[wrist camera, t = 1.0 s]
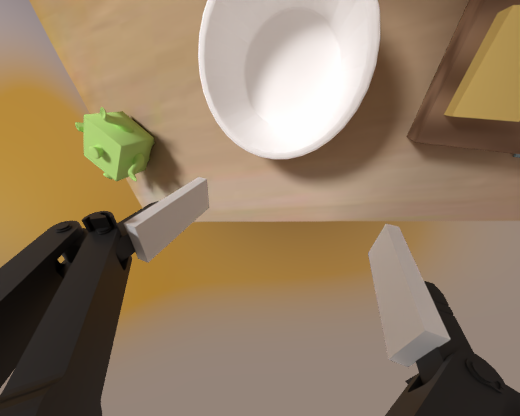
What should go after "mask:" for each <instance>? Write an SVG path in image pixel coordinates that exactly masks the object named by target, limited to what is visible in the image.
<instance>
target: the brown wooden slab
mask: <svg viewBox="0 0 520 416" xmlns="http://www.w3.org/2000/svg"><path fill="white" fill-rule="evenodd" d="M512 5H520V0H469V2H468V4H467V7H466V9H465V11H464V13H463V15H462V18H461V20H460V22H459V24H458V26H457V28H456V31H455V33H454V35H453V37H452V39H451V41H450V44H449V46H448V48H447V50H446V52H445V55H444V57H443V59H442V61H441V63H440V65H439V68H438V70H437V72H436V74H435V76H434V78H433V81H432V83H431V85H430V87H429V89H428V91H427V94H426V96H425V98H424V100H423V102H422V105H421V107H420V109H419V111H418V113H417V115H416V118H415V120H414V122H413V124H412V126H411V128H410V131H409V133H408V135H407V137H408V138H409V139H411V140H413V141H414V142H418V143H427V144H435V145H444V146H453V147H461V148H470V149H479V150H488V151H496V152H505V153H514V154H520V121H519V122H515V121H503V120H490V119H478V118H466V117H453V116H447V115H444V113H445V111H446V110H447V108H448V106H449V104H450V102H451V100H452V98H453V96H454V94H455V93H456V91H457V89H458V87H459V85H460V83H461V81H462V79H463V77H464V76H465V74H466V72H467V70H468V68H469V66H470V64H471V62H472V60H473V59H474V57H475V55H476V53H477V51H478V49H479V47H480V45H481V44H482V42H483V40H484V38H485V36H486V34H487V32H488V30H489V28H490V27H491V25H492V23H493V21H494V19H495V17H496V15H497V13H499V12H501V11H503V10H504V9H506V8H508V7H510V6H512Z"/></svg>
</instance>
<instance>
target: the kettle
mask: <svg viewBox="0 0 520 416" xmlns="http://www.w3.org/2000/svg"><path fill="white" fill-rule="evenodd" d="M75 124H76V128H77V129H78V130H79V131H82V132H84V156H85V157H87V158H88V159H89V160H90V161H92V162H93V163H94V164H95V165H97V166H98V167H99V168H100V169H102V170H103V171H104V172H105V173H104V174H103V175H105V177H107V178H109V179H114V180H115V181H119V180H121V179H124V178H126V177H129V176H130V178H131V179H133V180H134V181H137V179H136V177H135V174H136V173H139V172H141V171H144V170H146V166H147V162H148V161H149V160H150V157H149V155H150V152H151V148H152V145H154V137H152V136H151V135H150V134H149V133H148V132H146V131H145V130H144V129H143V128H142V127H140V126H139V125H138V124H137V123H136V122H134V121H133V120H132V119H131V118H130V117H129V116H127V115H126V114H125V113H124V112H110V113H106V111H105V109H104V108H103V107H101V108H100V113H98V114H85V115H84V123H78V122H76V123H75Z"/></svg>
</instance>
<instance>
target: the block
mask: <svg viewBox="0 0 520 416" xmlns="http://www.w3.org/2000/svg"><path fill="white" fill-rule="evenodd" d="M444 115H447V116H453V117H466V118H478V119H490V120H503V121H515V122H519V121H520V5H512V6H510V7H508V8H506V9H504V10H503V11H501V12H499V13H497V15H496V17H495V19H494V21H493V23H492V25H491V27H490V28H489V30H488V32H487V34H486V36H485V38H484V40H483V42H482V44H481V45H480V47H479V49H478V51H477V53H476V55H475V57H474V59H473V60H472V62H471V64H470V66H469V68H468V70H467V72H466V74H465V76H464V77H463V79H462V81H461V83H460V85H459V87H458V89H457V91H456V93H455V94H454V96H453V98H452V100H451V102H450V104H449V106H448V108H447V110H446V111H445V113H444Z"/></svg>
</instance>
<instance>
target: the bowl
mask: <svg viewBox="0 0 520 416" xmlns="http://www.w3.org/2000/svg"><path fill="white" fill-rule="evenodd" d="M380 38H381V37H380V8H379V3H378V0H208V1H207V3H206V6H205V9H204V12H203V17H202V23H201V28H200V33H199V49H198V59H199V71H200V78H201V83H202V87H203V92H204V95H205V98H206V101H207V103H208V106H209V109H210V111H211V112H212V114H213V116H214V118H215V120H216V122H217V123H218V125H219V126H220V127H221V129H222V130H223V131H224V132H225V134H226V135H227V136H228V137H229V138H230V139H231V140H232V141H233V142H235V143H236V144H237V145H238V146H240V147H241V148H243V149H244V150H246V151H248V152H250V153H252V154H255V155H257V156H259V157H264V158H269V159H291V158H295V157H300V156H303V155H306V154H308V153H310V152H313V151H315V150H317V149H318V148H320V147H321V146H323V145H324V144H326V143H327V142H329V141H330V140H332V139H333V138H334V137H335V136H336V135H337V134H338V133H339V132H340V131H341V130H342V129H343V128H344V127H345V126H346V124H347V123H348V122H349V120H350V119H351V118H352V116H353V115H354V114H355V112H356V111H357V110H358V108H359V106H360V104H361V102H362V100H363V98H364V96H365V94H366V92H367V91H368V88H369V85H370V82H371V79H372V76H373V73H374V70H375V67H376V64H377V57H378V51H379V45H380Z"/></svg>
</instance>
